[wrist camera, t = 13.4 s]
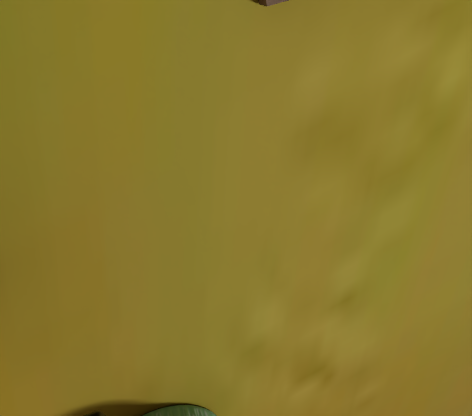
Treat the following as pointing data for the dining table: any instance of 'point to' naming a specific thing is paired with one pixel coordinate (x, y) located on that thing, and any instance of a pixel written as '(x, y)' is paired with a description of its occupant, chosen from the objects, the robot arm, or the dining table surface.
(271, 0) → the board
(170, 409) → the ramekin
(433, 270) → the dining table surface
